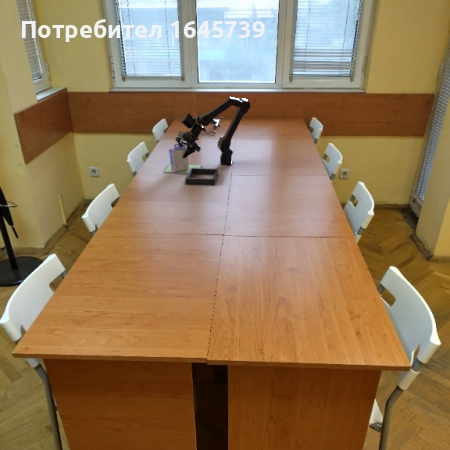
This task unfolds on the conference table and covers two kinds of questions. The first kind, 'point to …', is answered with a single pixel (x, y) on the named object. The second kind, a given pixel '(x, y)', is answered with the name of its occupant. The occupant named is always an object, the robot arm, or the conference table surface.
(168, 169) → the mat
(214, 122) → the tablet mount
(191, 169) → the black square frame
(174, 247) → the conference table surface
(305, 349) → the conference table surface
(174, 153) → the ink cartridge box
